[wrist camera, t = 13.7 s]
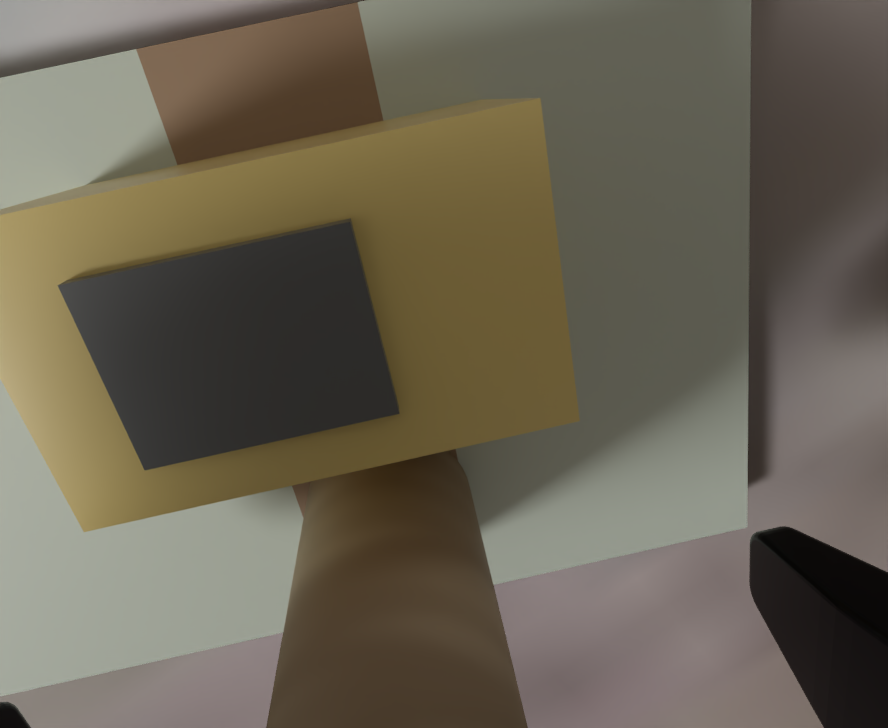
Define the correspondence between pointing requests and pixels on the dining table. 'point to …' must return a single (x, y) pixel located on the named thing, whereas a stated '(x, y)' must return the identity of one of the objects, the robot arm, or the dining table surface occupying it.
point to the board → (583, 272)
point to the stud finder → (289, 311)
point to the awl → (394, 608)
